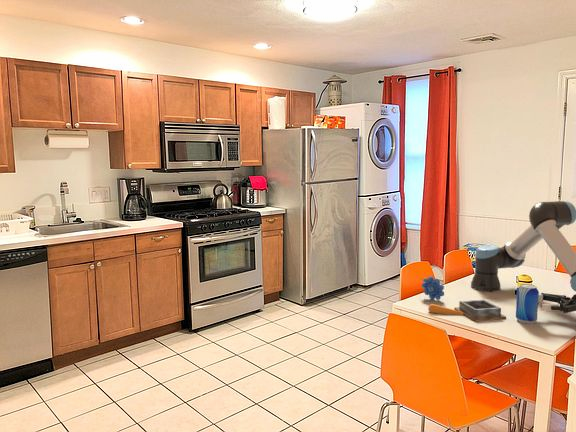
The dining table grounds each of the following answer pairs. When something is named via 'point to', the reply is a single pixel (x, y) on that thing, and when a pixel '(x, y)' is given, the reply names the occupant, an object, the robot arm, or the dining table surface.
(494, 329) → the dining table surface
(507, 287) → the dining table surface
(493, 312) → the holder
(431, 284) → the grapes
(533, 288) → the beer can
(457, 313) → the carrot
